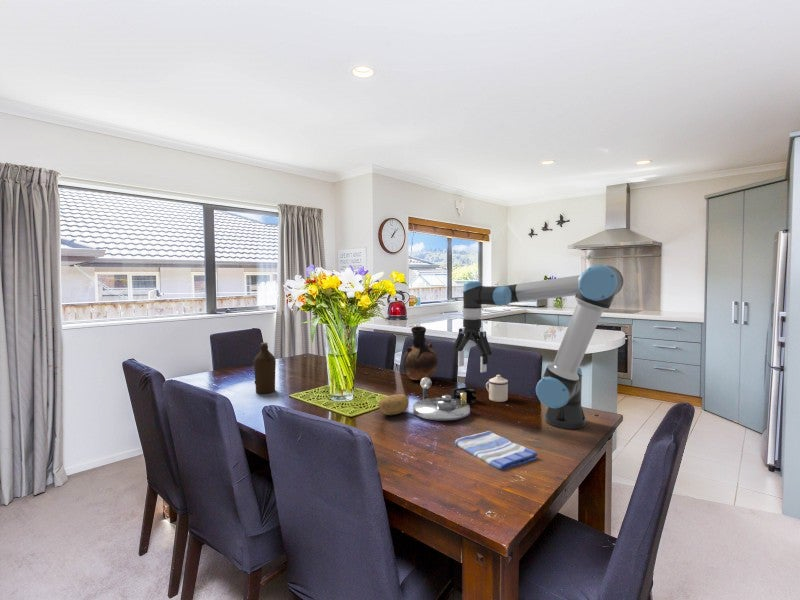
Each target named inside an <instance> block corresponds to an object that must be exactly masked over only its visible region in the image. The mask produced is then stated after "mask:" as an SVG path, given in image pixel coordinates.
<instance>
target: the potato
mask: <svg viewBox="0 0 800 600" xmlns="http://www.w3.org/2000/svg"><path fill="white" fill-rule="evenodd" d="M377 406H378V408H379V410H380V411H381V412H382V413H384V414H385V415H387V416H395V415H398V414H401V413H403V412H405V411H406V410H407V409H408V408H409V398H408V397H407V395H405V394H404V393H399V394H390V395H388V396H385V397H383V398H381V399H380V400H379V401H378V405H377Z"/></svg>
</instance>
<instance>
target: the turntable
mask: <svg viewBox="0 0 800 600" xmlns="http://www.w3.org/2000/svg"><path fill="white" fill-rule="evenodd" d="M441 398H442V397H432V398H427V399H423V398H422V399H420V400H418V401H417V400H416V402H414V403H413V405H412V410H413V411H412V412H413V414H414V415H416V416H417V417H419V418H423V419H425V420H430V421H438V422H439V421H442V422H443V421H448V422H449V421H456V420H461V419H464V418H466V417H468V416H469V415H470V414H471V411H470V409H471V408H470V407H471V406H470V404H467V403H466V393H465V392H462V393H461V401H460V400H456V399H454V400H456V409H455V410H452V411H442V410H439V409H437V400H438V399H441Z"/></svg>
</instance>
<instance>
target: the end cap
mask: <svg viewBox="0 0 800 600" xmlns="http://www.w3.org/2000/svg"><path fill="white" fill-rule="evenodd" d="M462 392H465V393H466V403H467V404H468V405H473V404H476V402H477V401H476V400H477V396H475V395H477V390H475V389H473V387H472V385H471V386H465V387H458V388H453V389H451V392H450V395H451V399H456V400H460V401H461V393H462ZM473 394H475V395H473Z"/></svg>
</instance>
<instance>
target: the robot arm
mask: <svg viewBox="0 0 800 600" xmlns="http://www.w3.org/2000/svg"><path fill="white" fill-rule="evenodd" d="M623 277H624V276H623V274H622V273H621V271H620V270H619V269H618V268H616V267H614V266H611V265H604V264H596V265H591V266H589V267H588V268H587V269H585V270H584V271H582V273H581V274H580V275H571V276H565V277H564V276H563V277H557V278H549V279H545V280H536V281H529V282H523V283H515V284H509V285H497V286H496V285H495V286H494V285H491V286H488V285H487V286H485V285H483V284H482V283H483V282H481V280H480V281H477V280H476V281H475V280H474V281H473V280H471V281H469V280H468V281H467V280H466V281H464V283H463V290H462V294H463V297H462V298H463V299H462V300H463V306H462V317H463V318H462V327H461V328H458V334H457V338H456V340H455V343H454V345H453V349H455V350H456V351H457V356H456V357H457V366H458V367H464V366H465V350H464V348H465V347H466V345H468V342H469V341H471V342H474V343H475V345H476V346H477V348H478V350H479V352H480V354H481V356H480V370H479V371H480V373H487V372H488V371H487V367H488V366H487V365H488V362H489V361H488V360H489V358H488V357H489V356H492V355H493V354H492V350H491V346H490V343H489V341H488V338H487V331H485V330H483V331H481V328H482V319H481V318H482V305H483V306H485V305H488V306H490V305H491V306H498V307H499V306H500V307H501V306H508V305H509V304H512V303H520V302H528V301H538V300H546V299H547V300H548V299H555V298H564V297H574V296H575V297H574V299H575V301H576V306H575V308H574V311H573V313H572V315H571V318H570V321H569V323H568V324H567V325H568V326H567V329H565V332H564V335H563V337H562V341H561V343H560V345H559V346H558V347H559V348H558V350H557V351H556V355H555V357H554V359H553V362H551V363H548V364H547V365H546V368H545V370H544V373H543V375H542V378H541V379H539V380H538V382H537V383H536V387H535V394H536V396H537V399H538V400H539V401H540V403H542V404H543V405H544V406H546V407H547V409H546V412H545V413H544V414H545V415H544V421H545V422H546V423H547V424H548V425H550V426H552V427H555V428H560V429H566V430H567V429H568V430H577V428H578V429H582V428H584V427H585V426H586V425H585V424H587V423H586V416H585V412H584V410H583V406H582V390H583V389H582V386H583V385H582V384H583V383H582V382H583V381H582V379H583V372H582V368H581V367H580V365H581V363H582V361H583V359H584V357H585V354H586V351H587V350H588V347H589V346H590V345H589V344H590V342H591V340H592V337H593V335H594V333H595V331H596V328H597V326H598V324H599V321H600V318H601V316H602V314H603V312H605V311H607V310H608V311H609V310H610V307H611V305H612V303H613V301H614V298H615V296H616V295H617V294H619V292H620V291H621V290H622V289H623V286H624V278H623ZM583 426H584V427H583ZM581 427H582V428H581Z"/></svg>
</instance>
